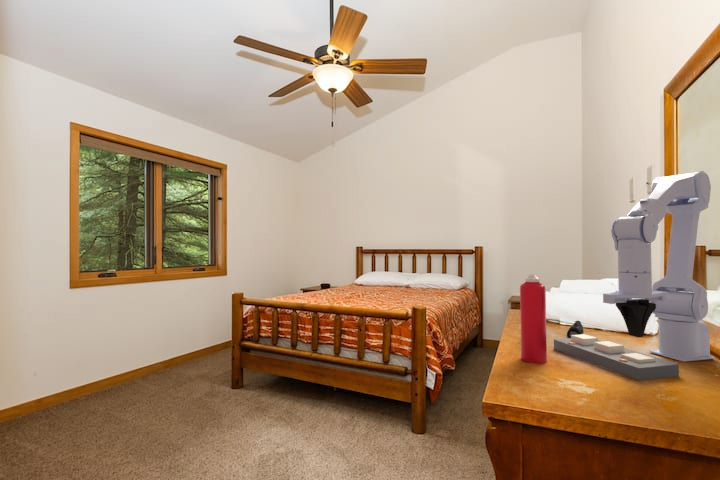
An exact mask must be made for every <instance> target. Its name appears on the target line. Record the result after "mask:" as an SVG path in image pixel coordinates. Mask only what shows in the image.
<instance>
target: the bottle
mask: <svg viewBox="0 0 720 480" xmlns="http://www.w3.org/2000/svg"><path fill="white" fill-rule="evenodd" d="M546 294H547V293H546V286H545V285H544V284H543V283H541V282H540V278H539V277H537V274H528V276H527V277H525V282H524V283H522V284H520V287H519V305H520V306H519V309H520V312H519V315H520V320H519V321H520V359H521V360H522V361H523V362H525V363H529V364H540V365H543V364H546V363H547V361H548V360H547V359H548V358H547V357H548V356H547V355H548V353H547V349H548V347H547V302H546V299H547V298H546Z"/></svg>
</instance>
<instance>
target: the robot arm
mask: <svg viewBox="0 0 720 480" xmlns="http://www.w3.org/2000/svg"><path fill="white" fill-rule="evenodd" d="M711 185H712V184H711V181H710V177H709V175H708V174H707V173H706V172H705V171H704V170H701V171H697V172H687V173H683V174H674V175H668V176H657V177H655V178H654V179H653V181H652V183H651V188H650V190H651V194H650V196H649V197H648V198H647V197H646V198H641V199H640V200H639V201H638V202H637V203H636V204H635V206H633V207H632V209H631V210H630V211H629V212H628V214H627V215H626V216H620V217H618V219H615V220H614V221H613V223H612V225H611V226H612V227H611V230H610V233H611V237H612V239H613V242H614V249H615V251H617V274H618V277H617V278H618V290H615V291H613V292H608V293H602V300H603V301H602V303H604V304H610V305H615V306H616V307H617V309H618V311H619V312H620V314H621V316H622V318H623V321H624V323H625V327H626V329H627V333H628V335H629V336H631V337H634V338H643V336H644V334H645V331H646V327H647V324H648V322H649V319H650V318H651V316H652V314H654V317H655V318H658V319H657V320H658V349H651V350H649V353H651V354H654V355H658V356H662V357H664V358H669V359H673V360H676V361H679V362H682V363H683V362H684V363H685V362H694V361H695V362H696V361H705V360H714V359H715V356H712V355H711V350H710V349H711V347H710V346H711V345H710V344H711V343H710V342H711V341H710V329H709V327H708V326H707V324H706V323H705V322H704V321H703V320H704V319H705V318H706V317H707V314H708V312H709V311H708V309H709V302H708V291H707V290H706V288H705V287H704V286H703V285H702V284H700V283H699V282H697V281H695V280H694V279H693V275H694V264H695V257H696V249H697V248H696V246H697V245H696V244H697V236H698V229H699V228H698V227H699V219H700V214H701V212H703V211H705V210H707V209H708V208H709V203H710V200H711V199H710V198H711V187H712V186H711ZM667 214H670V215H671V216H672V221H671V227H670V235H669V236H670V239H669V245H668V256H667V264H666V274H665V276H664V277H663V278H660V279H659V280H657V281H654V282H652V280H653V278H652V277H653V275H652V246H651V245H652V243H653V242H654V241H655V240H656V238H657V233H658V230H659V224H660V223H661V222H662V221H663V219H664V218H665V216H666V215H667ZM652 283H653V284H652Z"/></svg>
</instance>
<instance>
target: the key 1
mask: <svg viewBox="0 0 720 480" xmlns="http://www.w3.org/2000/svg"><path fill="white" fill-rule="evenodd" d="M598 341H599V340H598V337H595V336H592V335H588V334H585V333H581V334H580V335H571V342H574V343H577V344H580V345H584V346H585V345H594V342H598Z"/></svg>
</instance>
